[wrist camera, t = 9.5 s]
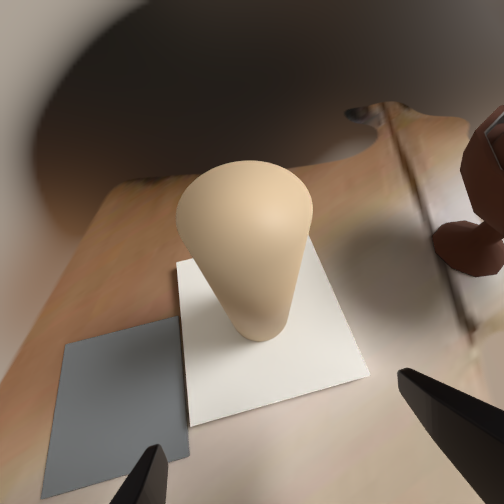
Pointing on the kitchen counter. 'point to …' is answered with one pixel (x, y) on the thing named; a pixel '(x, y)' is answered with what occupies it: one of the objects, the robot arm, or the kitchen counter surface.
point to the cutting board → (263, 347)
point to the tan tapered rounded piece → (248, 240)
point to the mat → (117, 405)
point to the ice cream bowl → (479, 205)
